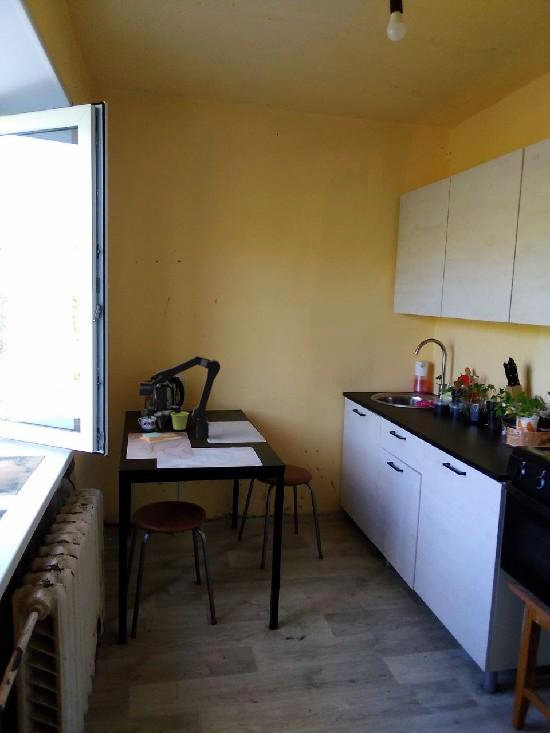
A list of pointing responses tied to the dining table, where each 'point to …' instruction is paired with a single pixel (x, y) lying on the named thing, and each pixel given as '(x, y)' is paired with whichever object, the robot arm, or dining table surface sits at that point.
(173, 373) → the robot arm
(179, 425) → the plant pot
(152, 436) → the tile
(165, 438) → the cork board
